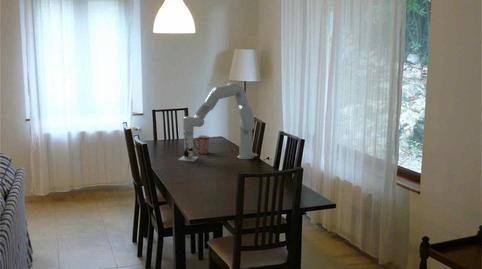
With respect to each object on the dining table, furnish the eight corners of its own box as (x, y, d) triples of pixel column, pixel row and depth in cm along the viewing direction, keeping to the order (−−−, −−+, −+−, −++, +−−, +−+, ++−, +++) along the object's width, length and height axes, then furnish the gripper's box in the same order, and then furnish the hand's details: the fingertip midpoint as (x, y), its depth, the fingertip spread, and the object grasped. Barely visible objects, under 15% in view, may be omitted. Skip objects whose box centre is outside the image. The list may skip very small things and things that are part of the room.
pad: (198, 157, 396) (198, 156, 395) (193, 161, 384) (193, 160, 384) (183, 156, 398) (183, 155, 398) (178, 160, 387) (178, 159, 387)
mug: (209, 151, 418) (209, 135, 415) (209, 154, 409) (209, 137, 406) (193, 151, 416) (193, 135, 414) (193, 154, 407) (193, 137, 405)
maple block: (192, 157, 393) (192, 151, 392) (190, 159, 388) (190, 152, 387) (186, 157, 394) (186, 150, 393) (184, 158, 389) (184, 152, 388)
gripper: (189, 135, 378) (189, 158, 381) (196, 131, 395) (196, 153, 398) (179, 134, 380) (179, 157, 383) (187, 130, 397) (187, 152, 400)
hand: (188, 155), depth 391 cm, fingers open, 9 cm apart
